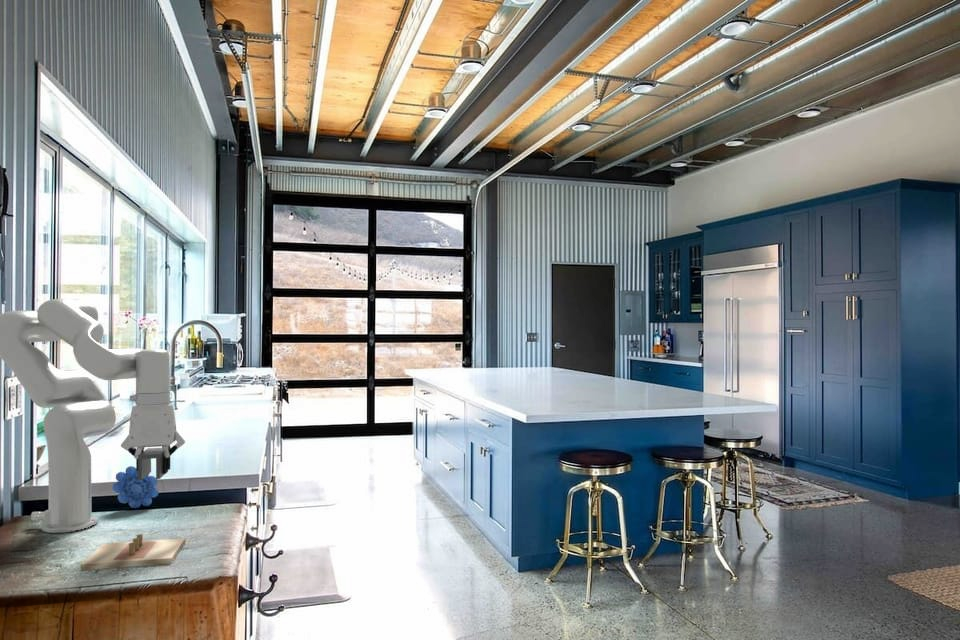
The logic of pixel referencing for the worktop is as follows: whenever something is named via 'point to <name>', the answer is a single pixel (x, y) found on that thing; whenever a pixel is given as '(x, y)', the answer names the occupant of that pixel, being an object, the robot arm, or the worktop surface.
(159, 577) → the worktop surface
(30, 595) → the worktop surface
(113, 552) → the pin board
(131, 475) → the blue flower
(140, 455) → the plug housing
